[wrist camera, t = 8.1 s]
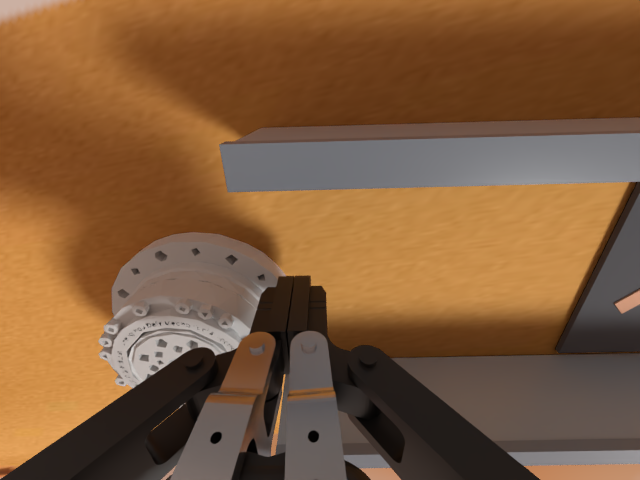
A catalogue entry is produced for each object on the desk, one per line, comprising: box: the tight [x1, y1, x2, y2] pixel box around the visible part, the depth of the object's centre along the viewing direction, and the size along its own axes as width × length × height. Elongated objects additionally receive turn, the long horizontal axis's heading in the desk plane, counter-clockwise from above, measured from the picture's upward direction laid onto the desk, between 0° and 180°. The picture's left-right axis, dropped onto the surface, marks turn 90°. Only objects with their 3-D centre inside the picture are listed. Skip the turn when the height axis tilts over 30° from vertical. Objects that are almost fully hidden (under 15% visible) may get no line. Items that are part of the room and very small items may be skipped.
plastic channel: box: [219, 117, 640, 468], centre depth 13 cm, size 26×15×6 cm, turn 91°
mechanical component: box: [98, 232, 286, 408], centre depth 15 cm, size 10×4×10 cm
